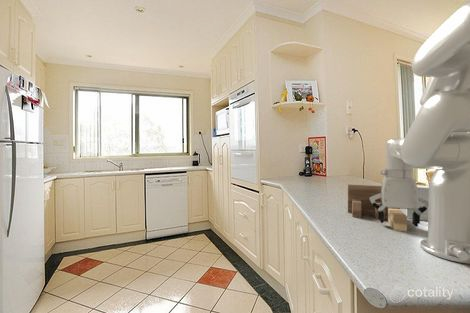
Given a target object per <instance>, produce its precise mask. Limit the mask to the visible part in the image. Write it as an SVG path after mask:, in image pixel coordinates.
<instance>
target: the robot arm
mask: <svg viewBox="0 0 470 313" xmlns="http://www.w3.org/2000/svg"><path fill="white" fill-rule="evenodd" d="M411 71H412V73H414V75H415V76H417V77H422V78H423V77H429V79H428V81H427V84H426V86H425V89H424V91H423V93H422V95H421V97H420V100H419V104H420V108H419V110H418V111H417V113H416V116H415V118H414V120H413V122H412V123H411V126H410V127H409V129H408V131H407V133H406V135H405V137H402V138H391V139H388V140H387V141H386V144H385V169H384V170H380V175H381V176H382V175H383V176H384V177H383V179H382V182H381V186H382V187H381V193H380V194H377V195H374V196H372V197H369V199H370V201H371V203H372V205H373V206H374V207H375V208H376V209H377V210H378V219H377V220H379V222H380V223H381V224H383V223H384V221H385V220H384V212H383V209H384V208H385V207H389V208H400V210H402V209H403V210H406V209H412V210H413V211H414V213H413V217H412V219H411V220H412V222H411V223H412V225H413V226H414V227H419V224H421V222H420V221H421V220H420V215H421V214H422V213H423V212H424V211H426V210H427V208H428V221H427V238H425V239H422V240H421V241H419V242H420V245H419V246H420V248H421V249H422V250H424V251H426V252H427V253H428V254H431V255H434V256H435V257H438V258H441V259H444V260H448V261H451V262H456V263H463V264H468V265H470V0H467V1H466V2H465V3H463V4H462V5H461V6H460V7H458V8H456V10H455V11H454V12H453V13H452V14H451V15H450V16H449V17H448V18H447V19H446V20H445V21H444V22H443V23H441V25H440V26H438V28H436V30H434V31H433V32H432V34H431V35H430V36H429V37H428V38H427V39H426V40H425V41H424V42H423V43H422V45H421V46H420V47H418V50H417V51H416V53H415V55H414V56H413V58H412V62H411ZM413 169H419V170H422V169H424V170H426V169H427V170H428V169H429V170H430V169H431V170H435V171H434V172H433V174H432V176H431V177H430V179H429V184H428V186H429V201H427V200H425V199H422V198H420V197H418V190H417V185H418V184H417V181H416V179H415V178H413V173H414V172H413ZM379 198H380V200H381V204H380V205H379V206H378V205H377V204H376V202H375V200H376V199H379ZM418 201H420V202H422V203H423V205H422V206H421V207H420V208H418ZM417 208H418V209H417Z"/></svg>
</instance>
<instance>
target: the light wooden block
mask: <svg viewBox="0 0 470 313" xmlns="http://www.w3.org/2000/svg"><path fill="white" fill-rule="evenodd" d="M385 221H387V222H388V223H389V225H390V227H391V228H392V229H393V231H400V232H408V218H407V216H406V214H405V213H404V212H403V211H402V209H400V208H389V207H387V213H386V216H385Z"/></svg>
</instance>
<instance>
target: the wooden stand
mask: <svg viewBox="0 0 470 313" xmlns="http://www.w3.org/2000/svg"><path fill="white" fill-rule="evenodd" d="M381 187H382V185H371V184H369V185H368V184H367V185H366V184H353V183H352V184H350V183H349V184H347V213H348V212H350V213H349V214H351V215H352V218H353V217H354V218H360V219H361V218H362V215H367V216H368V215H370V216H373V217H374V218H375V220H379V219H378V210H377V209H376V208H375V207H374V206H373V205H372V203H371V201H370V199H369V197H372V196H374V195H377V194H380V193H381ZM375 202H376V204H377V205H378V206H379V205H380V204H381V200H380V198H379V199H376V200H375ZM383 212H384V221H386V213H387V207H385V208H384V209H383Z"/></svg>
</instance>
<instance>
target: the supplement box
mask: <svg viewBox="0 0 470 313" xmlns="http://www.w3.org/2000/svg"><path fill="white" fill-rule="evenodd" d="M417 190H418V197H420V198H422V199H425V200H427V201H429V185H421V184H419V185H418V184H417ZM422 205H423V203H422V202H420V201H418V208H420V207H421V206H422ZM418 208H417V209H418ZM405 212H406V214H405V215H406V216H407V219H411V220H412V217H413V213H414V211H413V210H412V209H405ZM420 221H424V222H428V208H427V210H426V211H424V212H423V213H422V214H421V215H420Z"/></svg>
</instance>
